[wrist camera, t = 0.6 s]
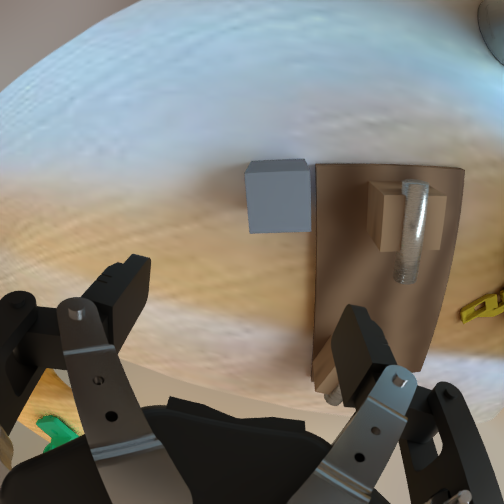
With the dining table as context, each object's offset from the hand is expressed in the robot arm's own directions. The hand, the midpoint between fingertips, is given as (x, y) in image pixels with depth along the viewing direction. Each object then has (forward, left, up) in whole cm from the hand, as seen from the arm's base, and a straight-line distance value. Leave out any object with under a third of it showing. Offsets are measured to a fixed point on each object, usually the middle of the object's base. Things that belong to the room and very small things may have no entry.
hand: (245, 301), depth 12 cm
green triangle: (+54, +53, -20) cm, 79 cm away
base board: (-13, +12, -20) cm, 26 cm away
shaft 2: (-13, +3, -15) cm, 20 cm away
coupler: (-1, 0, -20) cm, 20 cm away
